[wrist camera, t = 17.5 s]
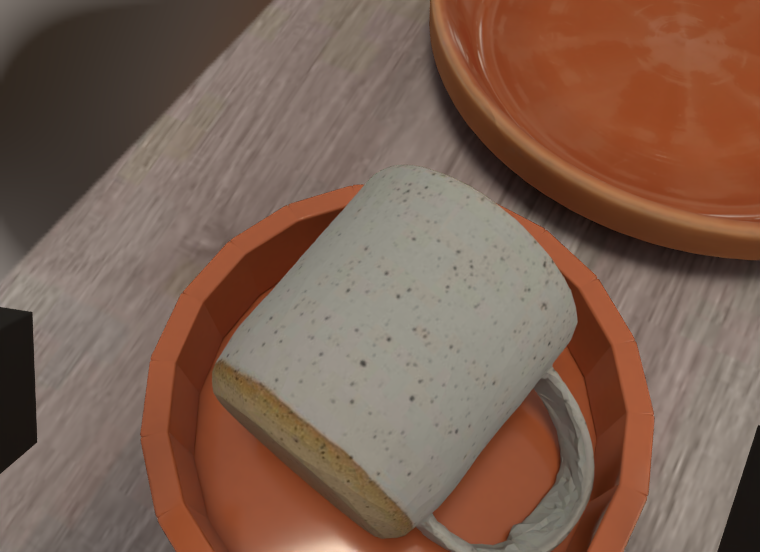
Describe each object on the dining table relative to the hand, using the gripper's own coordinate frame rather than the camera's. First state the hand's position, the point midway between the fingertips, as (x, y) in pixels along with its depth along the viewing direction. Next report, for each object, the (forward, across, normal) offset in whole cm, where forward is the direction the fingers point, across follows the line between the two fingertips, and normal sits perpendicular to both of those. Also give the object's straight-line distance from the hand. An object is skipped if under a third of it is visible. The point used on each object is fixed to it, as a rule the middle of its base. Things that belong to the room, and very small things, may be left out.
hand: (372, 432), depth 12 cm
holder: (+9, 0, -5) cm, 10 cm away
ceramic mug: (+9, +1, -4) cm, 10 cm away
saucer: (+22, +10, +8) cm, 26 cm away
